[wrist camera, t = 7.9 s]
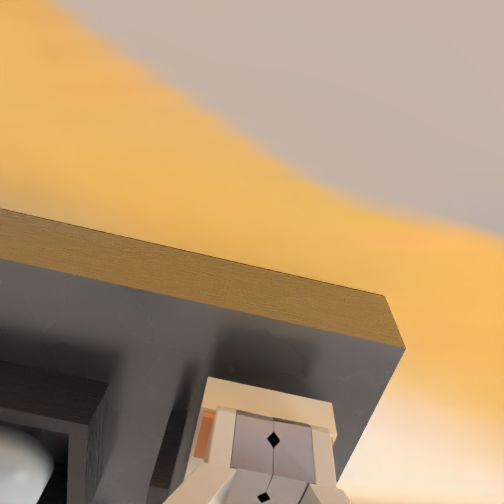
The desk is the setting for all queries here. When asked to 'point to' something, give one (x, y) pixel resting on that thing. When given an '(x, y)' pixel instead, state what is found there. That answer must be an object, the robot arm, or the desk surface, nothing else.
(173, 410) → the panel
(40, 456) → the button
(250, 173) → the desk surface
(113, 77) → the desk surface
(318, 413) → the rocker
